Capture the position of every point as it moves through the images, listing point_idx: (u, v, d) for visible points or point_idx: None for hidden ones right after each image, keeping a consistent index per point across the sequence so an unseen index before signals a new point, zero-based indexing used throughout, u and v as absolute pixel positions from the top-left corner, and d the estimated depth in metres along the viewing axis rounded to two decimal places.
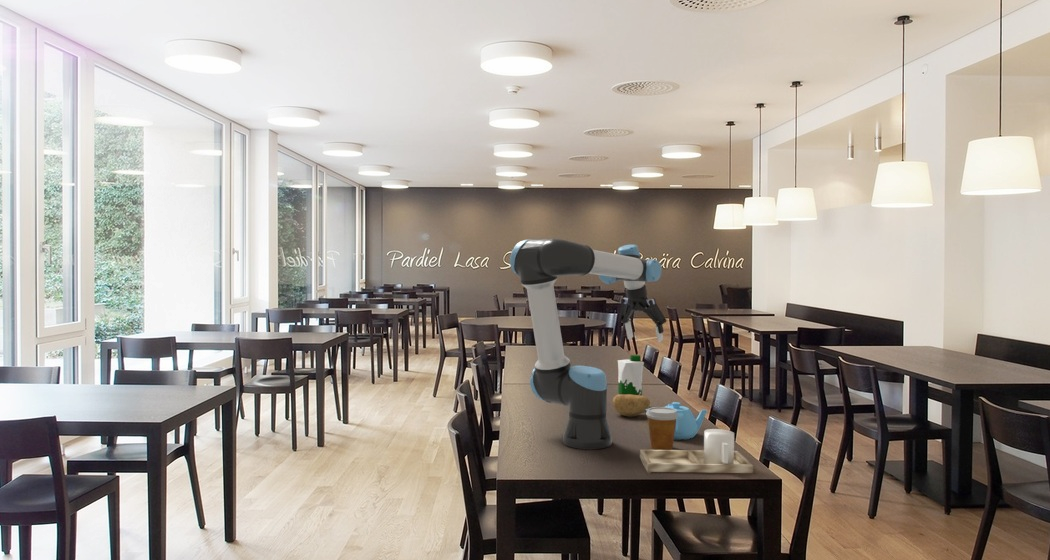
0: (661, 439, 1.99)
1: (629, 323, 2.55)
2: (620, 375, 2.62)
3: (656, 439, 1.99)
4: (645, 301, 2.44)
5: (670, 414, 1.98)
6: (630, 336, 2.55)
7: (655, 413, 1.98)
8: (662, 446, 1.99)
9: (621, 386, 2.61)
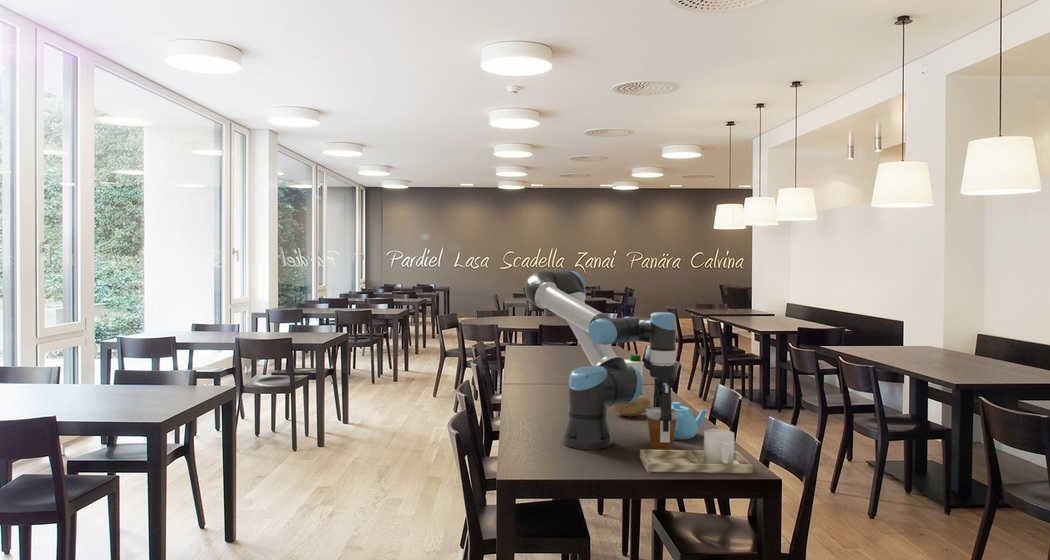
0: None
1: None
2: None
3: (656, 439, 1.99)
4: (662, 384, 1.98)
5: None
6: None
7: (655, 413, 1.98)
8: (662, 446, 1.99)
9: None
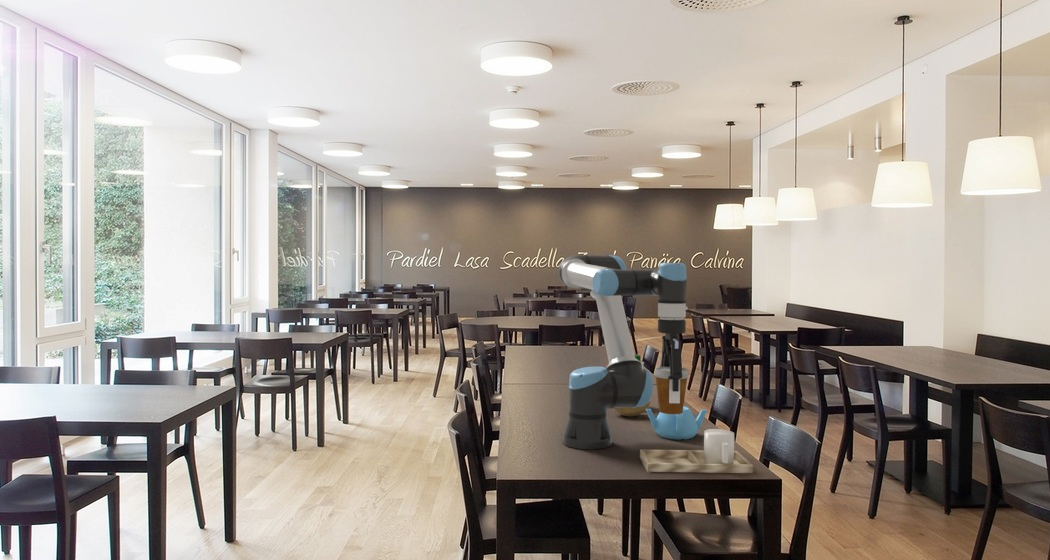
0: None
1: None
2: None
3: (665, 400, 1.82)
4: (671, 340, 1.81)
5: None
6: None
7: (664, 371, 1.82)
8: (671, 408, 1.82)
9: None
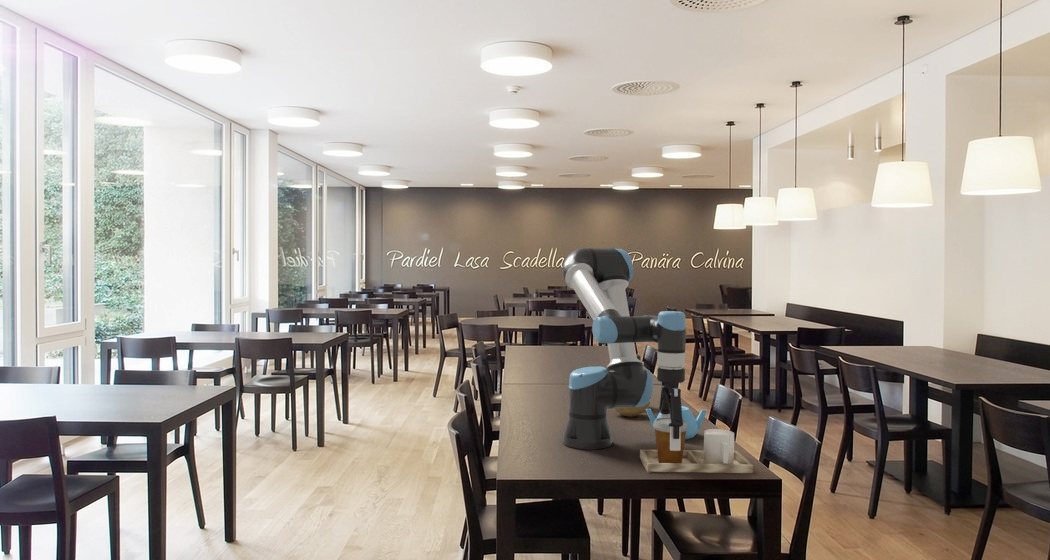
0: (669, 453, 1.82)
1: None
2: None
3: (664, 453, 1.83)
4: (670, 389, 1.81)
5: None
6: None
7: (663, 425, 1.82)
8: (671, 461, 1.82)
9: None
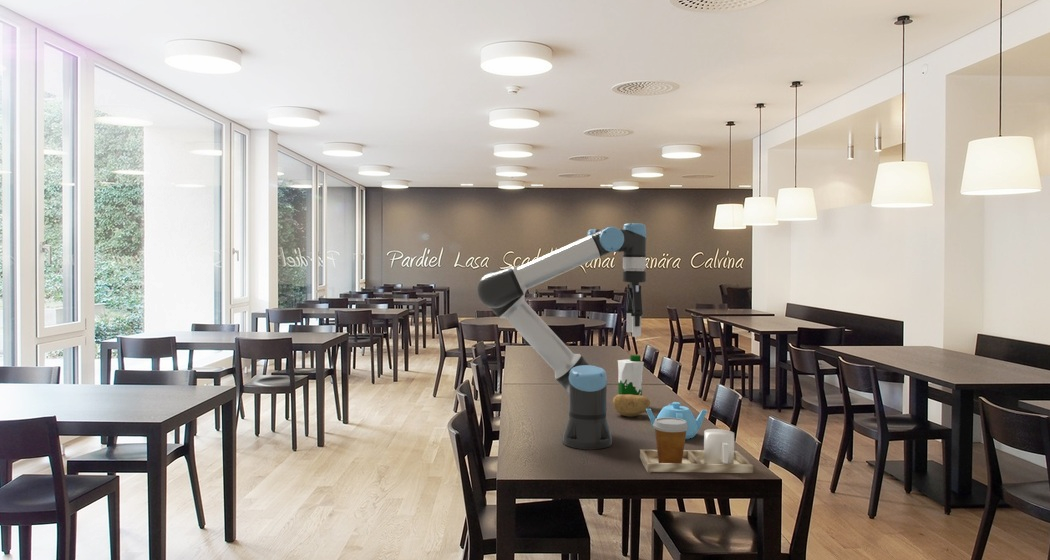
0: (670, 453, 1.82)
1: None
2: (620, 375, 2.62)
3: (664, 453, 1.83)
4: (633, 287, 2.17)
5: (680, 425, 1.82)
6: (629, 329, 2.28)
7: (663, 424, 1.82)
8: (671, 461, 1.82)
9: (621, 386, 2.61)
